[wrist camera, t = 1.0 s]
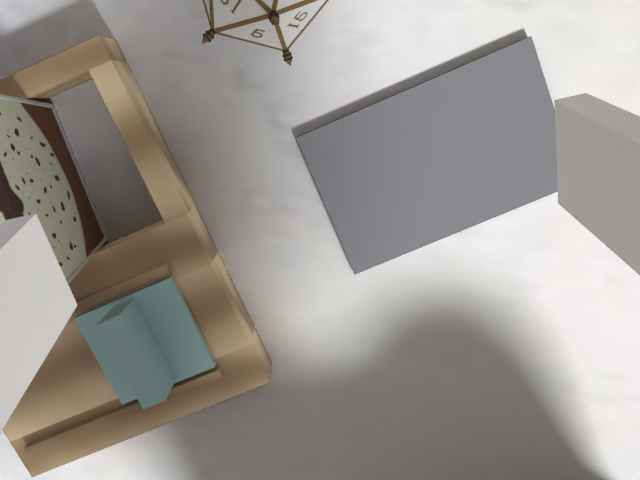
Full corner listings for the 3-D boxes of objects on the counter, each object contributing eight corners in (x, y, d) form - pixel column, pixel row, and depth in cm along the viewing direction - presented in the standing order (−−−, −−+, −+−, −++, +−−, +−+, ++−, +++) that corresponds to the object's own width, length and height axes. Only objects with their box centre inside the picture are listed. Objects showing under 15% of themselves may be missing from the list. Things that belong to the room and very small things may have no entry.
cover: (216, 363, 39) (207, 389, 36) (124, 400, 40) (106, 429, 36) (171, 275, 38) (157, 293, 34) (76, 315, 38) (53, 337, 35)
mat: (574, 181, 40) (578, 183, 39) (353, 272, 41) (354, 274, 40) (527, 37, 37) (531, 36, 37) (296, 137, 39) (295, 138, 38)
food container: (-45, 110, 38) (-167, 115, 28) (44, 81, 38) (-49, 75, 28) (33, 284, 41) (-54, 343, 31) (116, 259, 41) (55, 310, 31)
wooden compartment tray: (271, 363, 42) (268, 387, 39) (50, 451, 44) (28, 482, 40) (115, 39, 37) (95, 33, 34) (-131, 152, 39) (-175, 158, 35)
